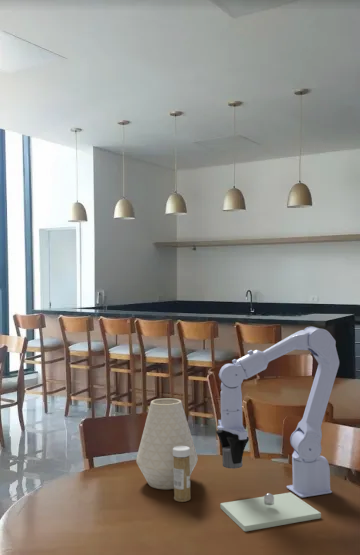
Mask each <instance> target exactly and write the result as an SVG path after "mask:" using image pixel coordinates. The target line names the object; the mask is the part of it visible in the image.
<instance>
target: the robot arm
mask: <svg viewBox="0 0 360 555" xmlns="http://www.w3.org/2000/svg"><path fill="white" fill-rule="evenodd" d="M336 342H337V341H336V339H335V338H334V337H333V336H332V334H331V333H330V331H328V330H327V329H324V328H319V327H316V326H307V327H305V328H304V329H301V330H298V331H296V332H294V333H292V334H290V335H289V336H287V337H285V338H283V339H282V340H280V341H278V342H277V343H275V344H273V345H272V346H270V347H268V348H266V349H265V350H263V351H261V350H259V349H255V350H252V349H250V350H248V351H247V354H245V355H244V356H241V357H240V358H238V359H236V358H234V359H232V360H231V362H232V363H224V365H223V366H221V368H220V370H219V373H218V377H219V380H220V382H221V383H220V390H221V391H220V419H217V424H218V425H217V427H216V429H217V430H215V432H216V435H217V437H218V440H219V441H220V444H221V448H222V451H223V447H225V446H230V449H231V455H232V461H233V463H234V464H238V463H241V461H242V462H243V456H244V451H245V448H246V446H247V444H248V442H249V439H250V438H249V436H248V431H246V429H245V427H244V425H243V395H242V394H243V391H242V383H243V381H244V380H248V379H249V378H251V377H253V376H256V375H257V374H259V373H261V372H262V371H263V372H264V371H265V370H266V369H267V367H268V365H269V363H270V362H272V361H274V360H276V359H278V358H280V357H282V356H284V355H286V354H288V353H291V352H292V351H295V350H299V351H309V352H310V353H311V354H312V356H313V357H314V359H315V360H316V362H317V364H318V365H317V367H316V368H317V369H316V372H315V375H314V378H313V381H312V385H311V389H310V391H309V392H310V393H309V395H308V398H307V402H306V405H305V409H304V412H303V414H302V418H301V420H300V421H299V422H298V423H297V426H296V428H295V430H293V432H291V435H290V437H289V442H290V446H291V447H292V448H293V452H292V454H291V457H292V458H291V462H292V464H291V466H292V484H289V485H286V489H288V490H290V491H291V493H293V494H294V495H295V494H296V496H297V497H299V498H307V497H308V498H309V497H314V496H320V495H328V494H332V493H333V491H332V490H331V471H330V470H331V468H330V465H329V464H330V463H329V460H328V459H327V458H326V457H325V456H323V455H321V454H322V449H323V448H322V443H321V442H322V437H323V434H322V433H323V430H322V424H323V421H324V418H325V415H326V410H327V407H328V403H329V400H330V397H331V393H332V390H333V387H334V383H335V380H336V376H337V373H338V370H339V367H340V359H339V355H338V351H337V347H336V344H337V343H336Z"/></svg>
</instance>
